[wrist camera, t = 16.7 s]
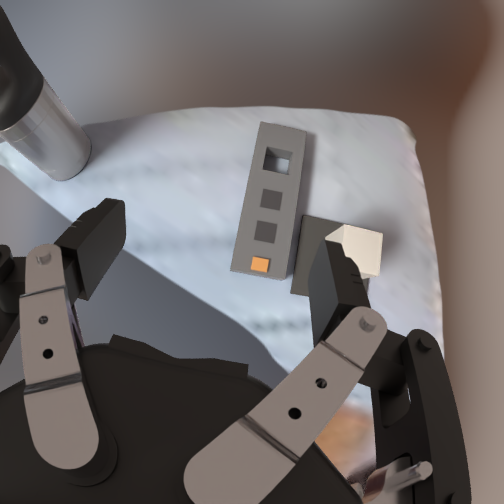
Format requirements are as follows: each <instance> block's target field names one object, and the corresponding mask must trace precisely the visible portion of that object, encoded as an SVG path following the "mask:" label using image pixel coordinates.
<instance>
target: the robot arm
mask: <svg viewBox="0 0 504 504" xmlns="http://www.w3.org/2000/svg"><path fill="white" fill-rule="evenodd" d="M0 136H1V137H2V138H3V139H4V140H5V141H7V142H8V143H9V144H10V145H11V146H12V147H14V148H15V149H16V150H17V151H18V152H20V153H21V154H22V155H23V156H25V157H26V158H27V159H28V160H29V161H31V162H32V163H33V164H34V165H36V166H37V167H38V168H39V169H41V170H42V171H43V172H44V173H46V174H47V175H48V176H49V177H51V178H52V179H54V180H56V181H64V180H67V179H70V178H72V177H74V176H75V175H76V174H77V173H79V172H80V171H81V170H82V168H83V167H84V166H85V164H86V163H87V161H88V159H89V156H90V152H91V142H90V140H89V138H88V137H87V135H86V134H85V133H84V131H83V130H82V129H81V127H80V126H79V124H78V123H77V122H76V120H75V119H74V118H73V116H72V115H71V114H70V112H69V111H68V110H67V108H66V107H65V106H64V104H63V103H62V102H61V100H60V99H59V97H58V96H57V95H56V93H55V92H54V90H53V89H52V88H51V86H50V85H49V84H48V82H47V81H46V79H45V78H44V76H43V75H42V74H41V72H40V71H39V69H38V68H37V67H36V65H35V64H34V63H33V61H32V60H31V58H30V57H29V55H28V54H27V52H26V51H25V49H24V48H23V46H22V44H21V42H20V41H19V39H18V37H17V35H16V33H15V31H14V29H13V27H12V25H11V23H10V21H9V20H8V17H7V16H6V14H5V12H4V10H3V9H2V7H1V6H0ZM125 239H126V220H125V203H124V201H122V200H117V199H111V198H105V199H104V200H103V201H102V202H101V203H100V204H99V205H98V206H97V207H96V208H92V209H90V210H88V211H86V212H84V213H83V214H82V215H81V216H80V217H79V218H78V219H77V220H76V221H75V222H74V223H73V224H72V225H71V227H69V228H68V229H67V230H66V231H65V232H64V233H63V234H62V235H61V236H60V237H59V238H58V239H57V240H56V242H55V243H54V244H43V245H40V246H38V247H35V248H34V249H32V250H31V251H30V252H29V253H28V255H27V257H13V256H12V253H11V250H10V248H9V247H8V246H7V245H0V364H1V362H2V360H3V358H4V356H5V354H6V353H7V350H8V349H9V347H10V345H11V343H12V341H13V339H14V338H15V336H16V334H17V332H18V330H19V329H20V332H21V347H22V358H23V367H24V375H25V379H23V380H22V381H20V382H18V383H16V384H14V385H12V386H11V387H9V388H7V389H5V390H3V391H2V392H0V504H471V487H470V478H469V470H468V463H467V456H466V451H465V445H464V439H463V434H462V429H461V424H460V420H459V416H458V411H457V407H456V403H455V399H454V395H453V391H452V387H451V384H450V380H449V376H448V373H447V370H446V367H445V363H444V360H443V357H442V353H441V350H440V347H439V345H438V343H437V341H436V340H435V338H434V337H433V336H432V335H431V334H429V333H428V332H426V331H424V330H421V329H414V330H412V331H411V332H410V333H409V334H408V335H407V337H405V336H402V335H400V334H397V333H395V332H392V331H390V330H388V329H387V324H386V322H385V320H384V318H383V317H382V316H381V315H380V314H379V313H378V312H376V311H375V310H373V309H371V306H370V303H369V299H368V296H367V293H366V290H365V286H364V285H363V280H362V278H361V274H360V271H359V268H358V266H357V265H356V263H355V262H354V261H353V260H352V259H351V258H350V257H346V256H345V253H344V250H343V247H342V244H341V243H338V242H334V241H329V240H324V239H323V240H322V241H321V243H320V245H319V248H318V250H317V253H316V256H315V258H314V261H313V264H312V266H311V269H310V272H309V276H308V291H309V301H310V311H311V321H312V332H313V344H314V349H313V350H312V351H311V352H310V353H309V354H308V355H307V356H306V357H305V358H304V360H303V361H302V362H301V363H300V364H299V365H298V366H297V367H296V368H295V369H294V370H293V371H292V372H291V373H290V374H289V375H288V376H287V377H286V378H285V379H284V380H283V381H282V382H281V383H280V384H279V385H278V386H277V387H276V388H275V389H274V390H273V389H271V388H270V387H269V386H268V385H266V384H265V383H263V382H262V381H260V380H258V379H257V378H255V377H253V376H250V375H248V364H243V363H237V362H231V361H225V360H220V359H215V358H213V359H212V358H207V359H179V358H174V357H172V356H170V355H168V354H166V353H163V352H161V351H159V350H157V349H155V348H153V347H151V346H150V345H148V344H146V343H144V342H140V341H136V340H132V339H129V338H125V337H121V336H118V335H115V334H113V336H112V338H111V340H110V343H103V344H102V343H101V344H93V345H89V346H85V344H84V341H83V337H82V333H81V329H80V325H79V320H78V316H77V311H76V306H75V301H76V299H77V298H80V299H84V300H87V301H88V300H89V299H90V297H91V295H92V293H93V292H94V290H95V289H96V287H97V286H98V284H99V283H100V281H101V279H102V278H103V276H104V275H105V273H106V272H107V270H108V269H109V267H110V266H111V264H112V263H113V261H114V260H115V258H116V257H117V255H118V254H119V252H120V251H121V249H122V248H123V246H124V243H125ZM357 383H360V384H363V385H365V386H368V387H370V389H371V398H372V408H373V418H374V431H375V445H376V465H377V470H376V471H374V472H373V473H372V474H371V475H370V477H369V478H368V480H367V483H366V489H365V491H364V495H363V497H362V499H361V498H360V496H359V495H358V493H357V492H356V491H355V490H354V488H353V487H352V486H351V485H350V484H349V483H348V481H347V480H346V479H345V478H344V477H343V476H342V474H341V473H340V472H339V471H338V470H337V468H336V467H335V466H334V465H333V464H332V462H331V461H330V460H329V459H328V457H327V456H326V455H325V454H324V453H323V451H322V450H321V449H320V448H319V446H318V445H317V444H316V443H315V441H314V440H315V439H316V438H317V437H318V435H319V434H320V433H321V432H322V430H323V429H324V428H325V427H326V425H327V424H328V423H329V421H330V420H331V419H332V417H333V416H334V415H335V413H336V412H337V411H338V409H339V408H340V407H341V405H342V404H343V402H344V401H345V400H346V398H347V397H348V395H349V394H350V393H351V391H352V390H353V388H354V387H355V385H356V384H357ZM408 389H409V394H408ZM409 395H410V400H409Z"/></svg>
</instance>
